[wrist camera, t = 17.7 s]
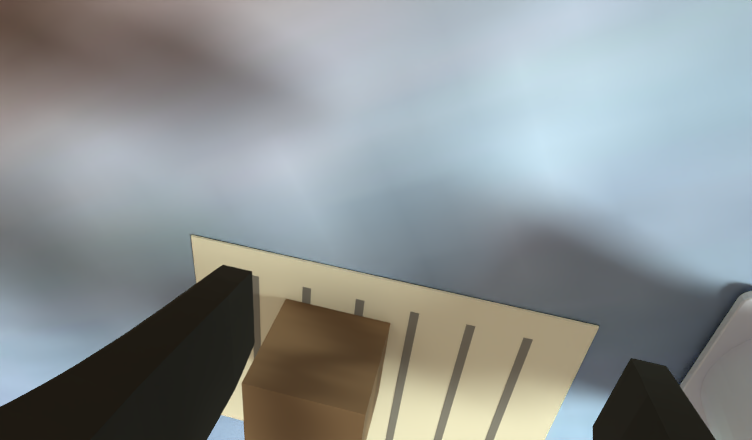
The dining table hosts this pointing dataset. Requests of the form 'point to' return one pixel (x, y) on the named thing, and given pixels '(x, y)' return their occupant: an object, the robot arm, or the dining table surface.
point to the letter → (425, 348)
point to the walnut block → (314, 376)
